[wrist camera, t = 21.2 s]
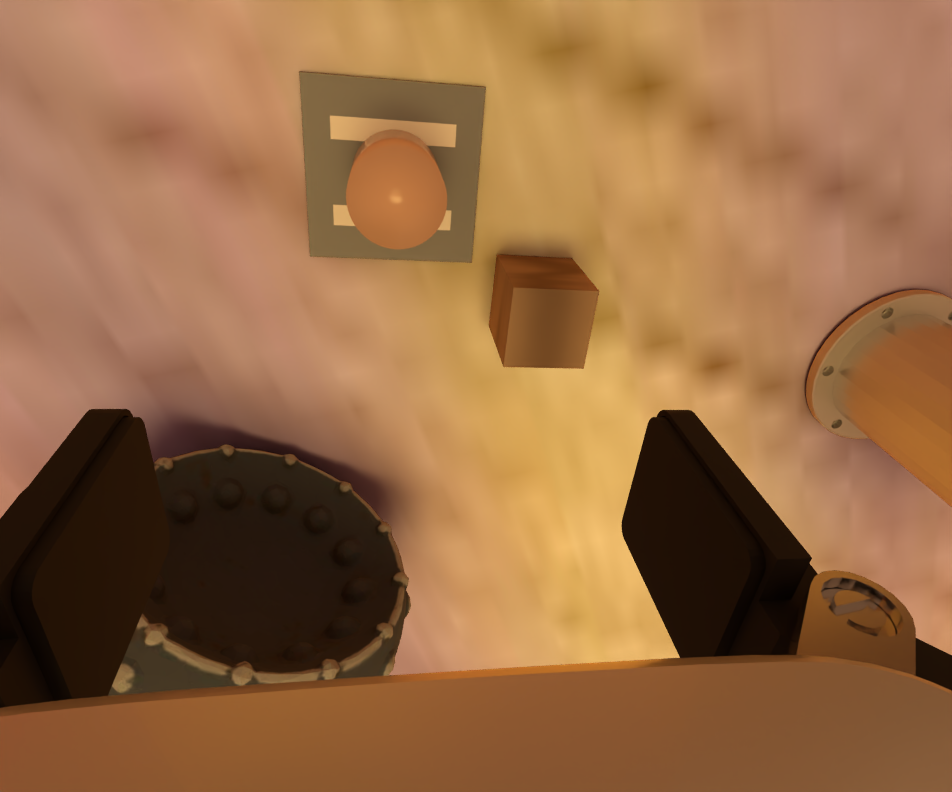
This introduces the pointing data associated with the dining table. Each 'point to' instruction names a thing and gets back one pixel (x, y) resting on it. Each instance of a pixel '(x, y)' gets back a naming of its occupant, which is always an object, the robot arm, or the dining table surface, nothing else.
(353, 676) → the dark green studded bowl
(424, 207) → the terracotta cylinder
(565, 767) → the robot arm
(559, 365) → the walnut block
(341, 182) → the letter tile
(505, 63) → the dining table surface
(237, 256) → the dining table surface
